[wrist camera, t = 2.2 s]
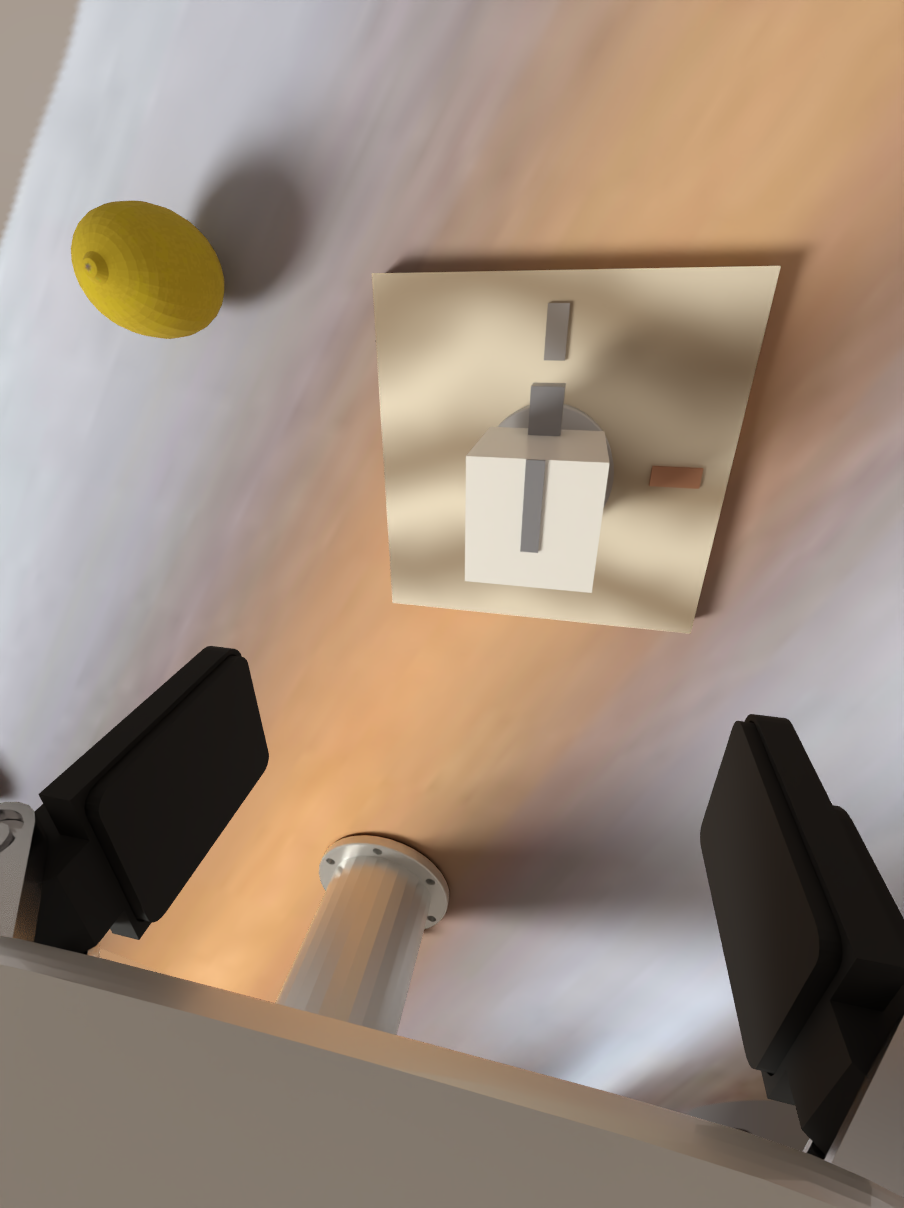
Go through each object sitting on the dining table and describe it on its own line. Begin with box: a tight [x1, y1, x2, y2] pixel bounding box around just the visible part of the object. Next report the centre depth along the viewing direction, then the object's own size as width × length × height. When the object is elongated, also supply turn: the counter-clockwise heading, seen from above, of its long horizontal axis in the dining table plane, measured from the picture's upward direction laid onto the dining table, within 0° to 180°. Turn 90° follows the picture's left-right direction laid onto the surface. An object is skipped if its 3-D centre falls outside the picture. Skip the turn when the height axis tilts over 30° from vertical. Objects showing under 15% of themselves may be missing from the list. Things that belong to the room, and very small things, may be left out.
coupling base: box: [372, 266, 781, 634], centre depth 28 cm, size 18×18×4 cm
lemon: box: [71, 201, 224, 339], centre depth 25 cm, size 6×6×8 cm
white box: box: [465, 382, 609, 593], centre depth 23 cm, size 7×5×6 cm
